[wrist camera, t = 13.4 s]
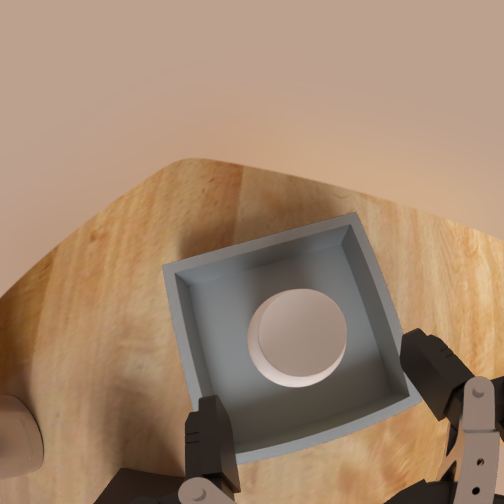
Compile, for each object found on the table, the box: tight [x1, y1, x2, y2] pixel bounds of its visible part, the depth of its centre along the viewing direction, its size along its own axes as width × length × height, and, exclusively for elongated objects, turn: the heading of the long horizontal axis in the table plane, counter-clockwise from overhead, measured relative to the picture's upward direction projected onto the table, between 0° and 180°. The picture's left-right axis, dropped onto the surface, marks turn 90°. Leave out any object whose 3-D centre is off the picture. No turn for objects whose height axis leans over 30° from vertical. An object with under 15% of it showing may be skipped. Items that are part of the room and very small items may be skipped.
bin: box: [162, 212, 422, 465], centre depth 20 cm, size 15×15×4 cm
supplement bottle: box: [247, 289, 347, 387], centre depth 17 cm, size 5×5×10 cm
